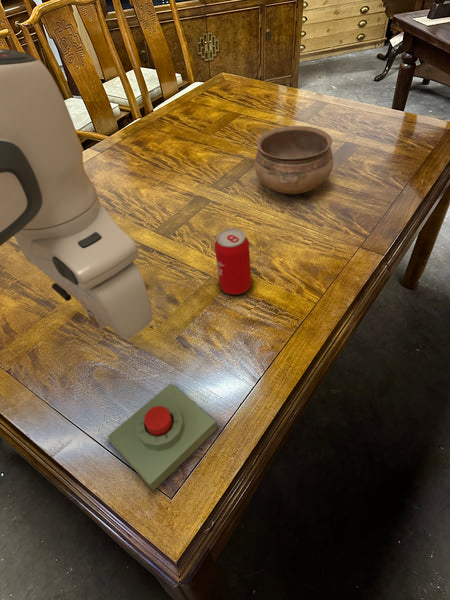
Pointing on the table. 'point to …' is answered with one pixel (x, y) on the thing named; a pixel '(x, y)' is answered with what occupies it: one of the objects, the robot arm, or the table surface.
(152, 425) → the button
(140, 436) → the button housing
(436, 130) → the table surface
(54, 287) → the press lever
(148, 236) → the table surface
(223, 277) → the beverage can
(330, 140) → the cooking pot
